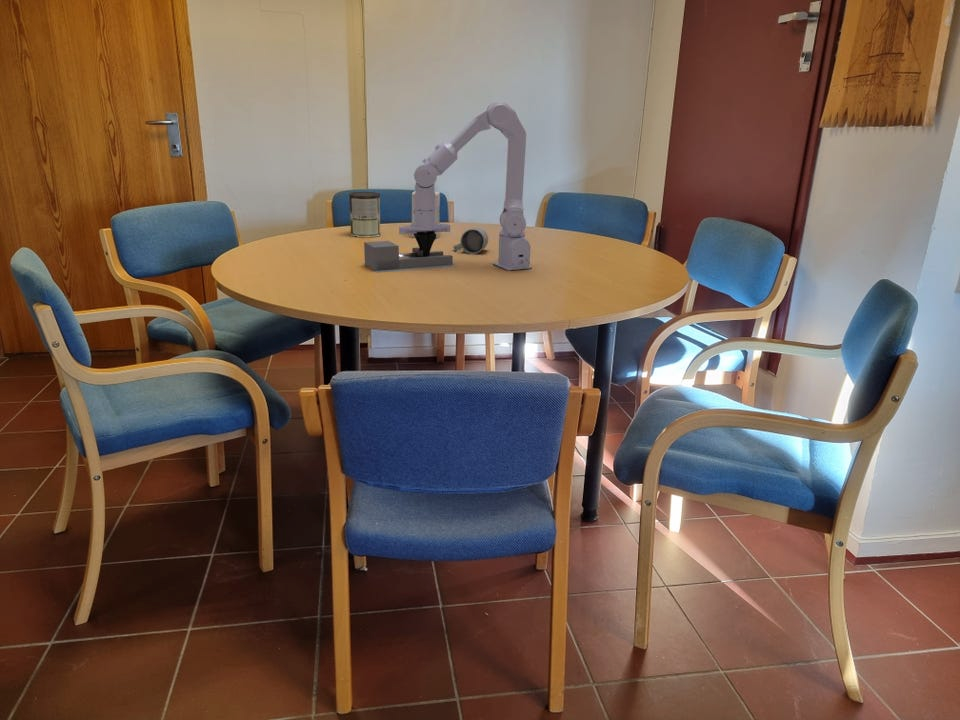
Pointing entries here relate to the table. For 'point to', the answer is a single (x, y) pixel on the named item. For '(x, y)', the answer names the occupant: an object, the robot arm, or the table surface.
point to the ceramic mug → (473, 241)
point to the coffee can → (365, 214)
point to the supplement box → (437, 210)
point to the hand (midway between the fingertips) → (424, 258)
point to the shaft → (415, 253)
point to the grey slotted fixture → (387, 258)
